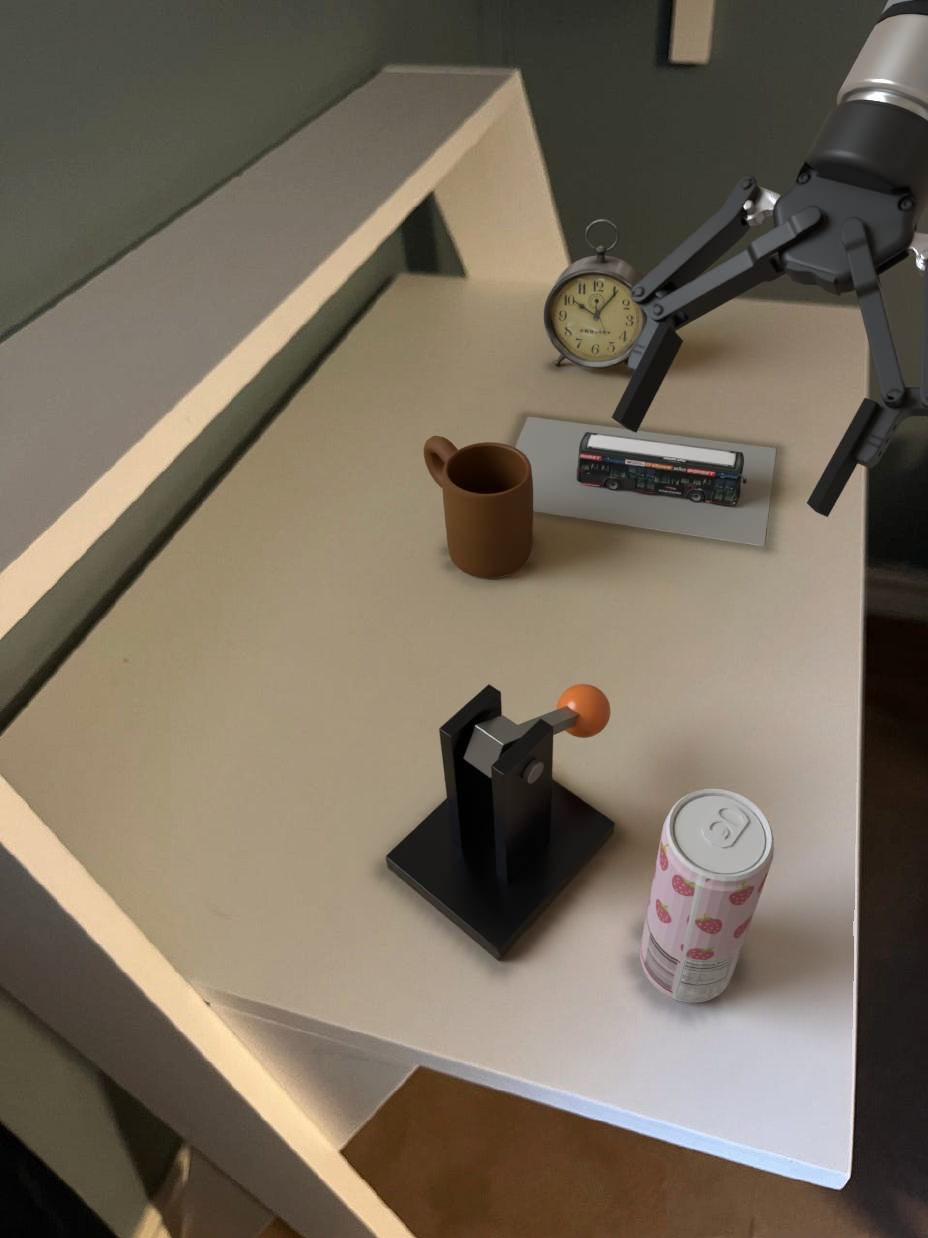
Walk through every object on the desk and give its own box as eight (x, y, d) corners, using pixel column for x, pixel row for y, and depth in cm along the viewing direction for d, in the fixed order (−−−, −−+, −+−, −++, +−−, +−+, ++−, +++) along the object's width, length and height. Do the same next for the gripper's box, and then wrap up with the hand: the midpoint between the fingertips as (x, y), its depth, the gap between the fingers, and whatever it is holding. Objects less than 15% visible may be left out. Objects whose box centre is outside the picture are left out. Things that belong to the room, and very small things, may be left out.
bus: (764, 546, 85) (772, 509, 82) (490, 504, 91) (489, 468, 88) (776, 448, 94) (784, 412, 91) (528, 416, 100) (527, 381, 97)
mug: (400, 528, 89) (390, 444, 82) (463, 491, 92) (458, 408, 85) (486, 595, 82) (482, 510, 76) (550, 553, 86) (552, 468, 79)
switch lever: (567, 713, 68) (584, 670, 66) (608, 741, 66) (627, 696, 64) (451, 760, 57) (469, 709, 56) (496, 794, 55) (516, 742, 54)
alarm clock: (542, 372, 106) (543, 226, 94) (553, 346, 109) (555, 203, 97) (641, 384, 103) (655, 235, 91) (649, 357, 107) (664, 211, 95)
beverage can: (736, 927, 61) (780, 794, 50) (729, 1015, 57) (775, 893, 46) (645, 908, 62) (669, 774, 51) (633, 993, 58) (656, 869, 47)
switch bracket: (503, 756, 71) (498, 628, 61) (614, 834, 66) (629, 708, 56) (387, 867, 65) (361, 746, 55) (499, 962, 60) (492, 848, 50)
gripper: (1121, 214, 53) (919, 562, 56) (722, 121, 65) (577, 410, 68) (1132, 143, 46) (904, 540, 50) (687, 54, 58) (530, 377, 62)
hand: (714, 466), depth 59 cm, fingers open, 13 cm apart
